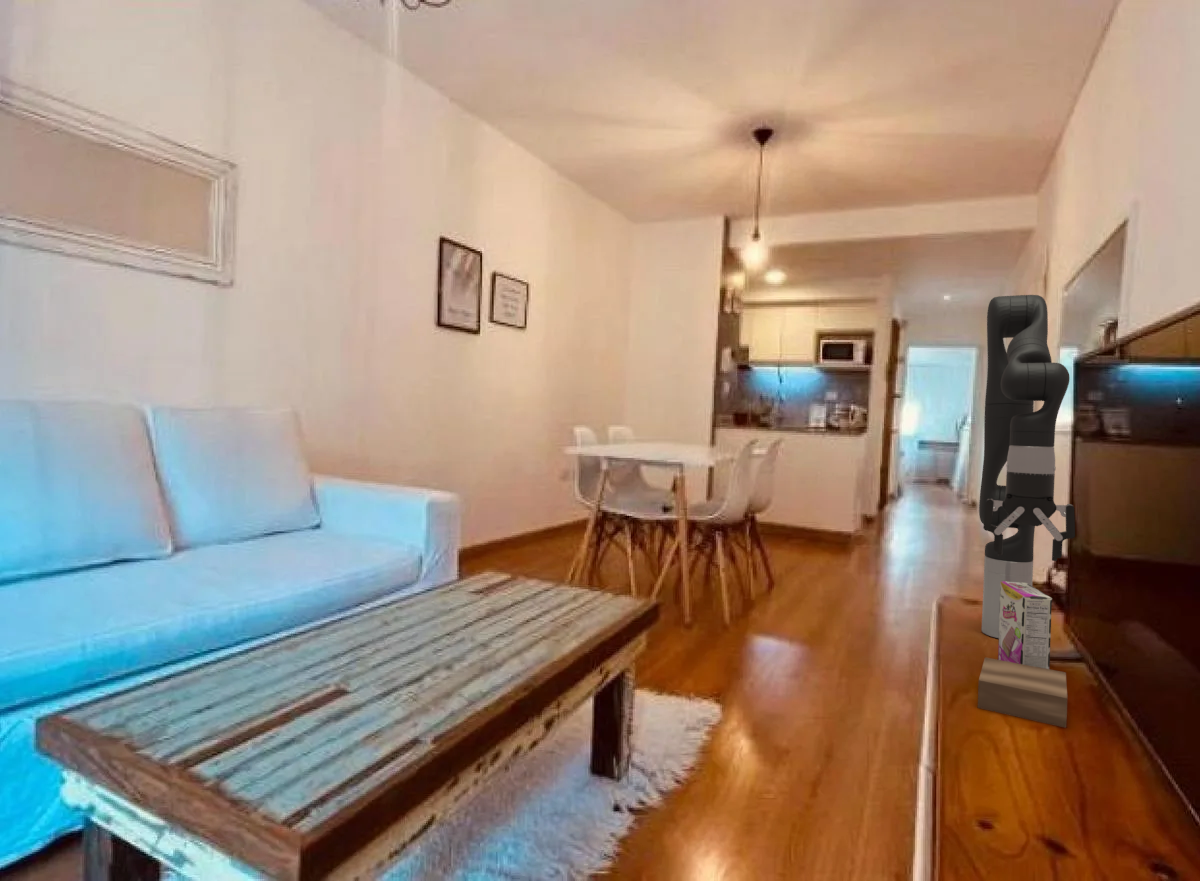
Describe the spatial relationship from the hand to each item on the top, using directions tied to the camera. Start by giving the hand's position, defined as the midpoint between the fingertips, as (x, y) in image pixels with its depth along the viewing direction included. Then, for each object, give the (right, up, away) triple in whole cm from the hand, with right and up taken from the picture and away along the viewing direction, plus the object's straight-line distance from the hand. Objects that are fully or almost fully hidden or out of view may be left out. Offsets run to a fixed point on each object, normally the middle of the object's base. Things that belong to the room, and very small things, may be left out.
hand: (1026, 557), depth 124 cm
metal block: (-8, -23, -12) cm, 27 cm away
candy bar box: (0, -22, +1) cm, 22 cm away
